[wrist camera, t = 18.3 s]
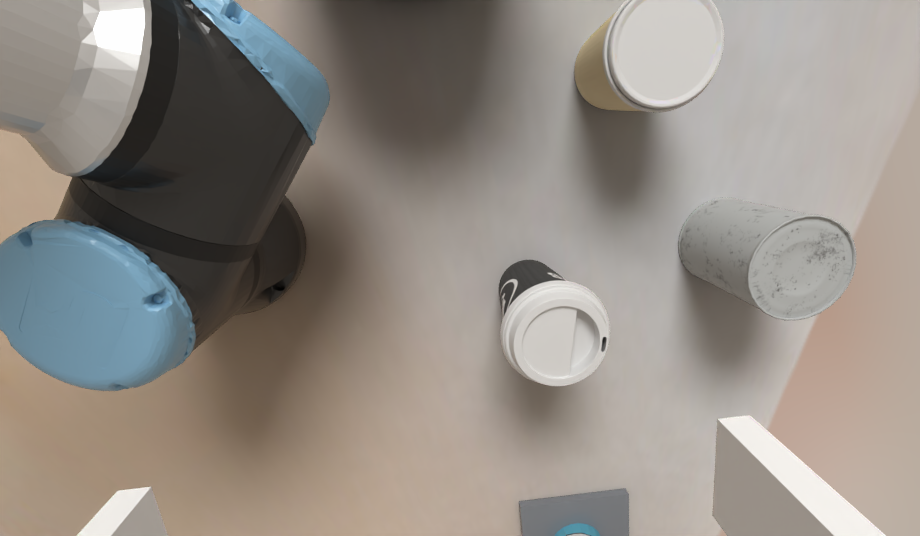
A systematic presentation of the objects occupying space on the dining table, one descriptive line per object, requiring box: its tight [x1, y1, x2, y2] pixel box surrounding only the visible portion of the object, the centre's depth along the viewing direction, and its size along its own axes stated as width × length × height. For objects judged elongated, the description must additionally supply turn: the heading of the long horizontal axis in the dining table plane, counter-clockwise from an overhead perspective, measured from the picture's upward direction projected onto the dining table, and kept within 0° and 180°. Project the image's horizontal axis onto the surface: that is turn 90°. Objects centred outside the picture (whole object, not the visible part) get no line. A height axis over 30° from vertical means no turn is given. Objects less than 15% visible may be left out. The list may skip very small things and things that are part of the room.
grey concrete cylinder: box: [678, 198, 856, 320], centre depth 46 cm, size 10×10×12 cm
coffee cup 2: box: [574, 0, 724, 113], centre depth 41 cm, size 9×9×12 cm
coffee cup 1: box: [499, 260, 610, 386], centre depth 45 cm, size 10×10×15 cm
